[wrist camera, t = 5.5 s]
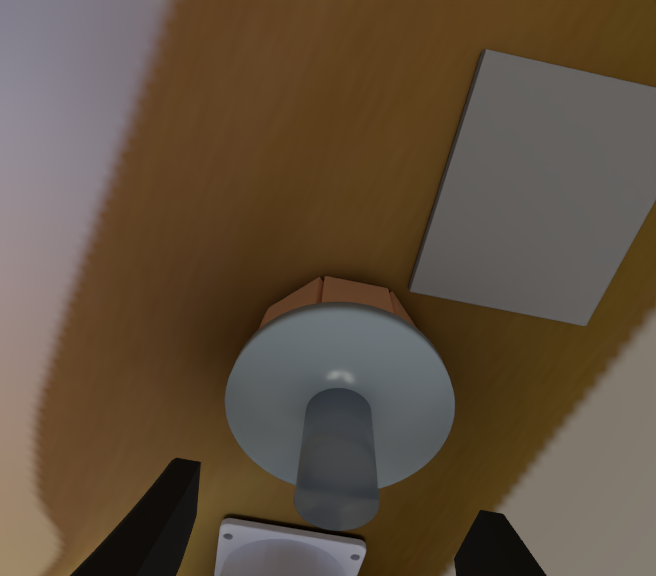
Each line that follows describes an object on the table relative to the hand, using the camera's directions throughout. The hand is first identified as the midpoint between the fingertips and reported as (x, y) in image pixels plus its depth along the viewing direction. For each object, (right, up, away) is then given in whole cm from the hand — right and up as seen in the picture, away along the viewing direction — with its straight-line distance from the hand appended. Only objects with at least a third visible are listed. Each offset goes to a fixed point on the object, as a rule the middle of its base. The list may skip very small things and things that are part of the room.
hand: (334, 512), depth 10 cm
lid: (0, +2, +4) cm, 4 cm away
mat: (+7, +9, +4) cm, 12 cm away
